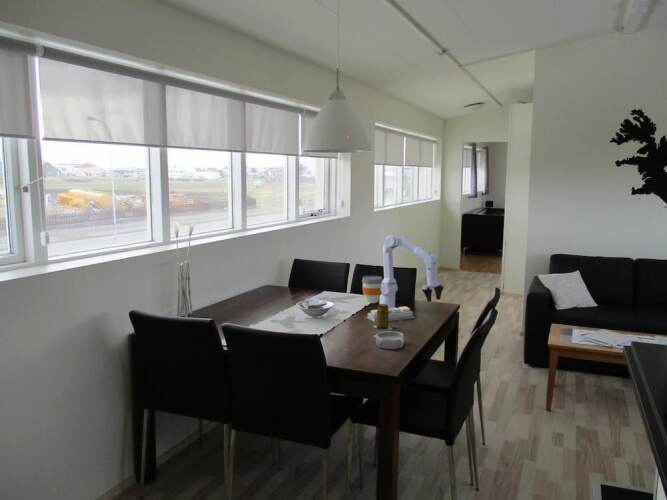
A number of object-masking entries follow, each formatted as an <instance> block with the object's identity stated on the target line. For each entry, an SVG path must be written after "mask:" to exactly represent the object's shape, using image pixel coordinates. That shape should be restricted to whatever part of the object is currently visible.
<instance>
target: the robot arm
mask: <svg viewBox="0 0 667 500" xmlns="http://www.w3.org/2000/svg"><path fill="white" fill-rule="evenodd" d="M400 246H401V247H402V246H403V247H405V248H406V249H408V250H409V251H410V252H413V254H414V257H415V256H416V258H418V259H420V260H421V261H423V263H424V265H425V268H426V270H425V271H426V283H427V284H425V285H422V292H423V294H424V296H425V298H426V302H427V303H431V302H432V293H433V290H434V293H435V299H436V300H441V296H442V293H443V290H444V285H443V281H438V267H437V265H438V264H437V263H438V262H439V257H438V255H437V254H436V253H433V252H432V253H431V251H428V250H427V249H425V246H417V245H415V244H414V243H413V242H411V241H410V240H408V239H406V237H405V236H403V235H401V234H394V235H388V236H386V237H385V239H384V243H383V246H382V261H383V262H382V263H383V278H382V285H381V294H380V298H379V302H378V305H379V304H387V305H388V309H389V310H390V308H396V293H397V292H398V288H399V287H398V284H397V280H396V279H395V278H394V262H393V261H394V258H393V256H394V255H393V251H394V250H395V249H396V248H398V247H400ZM432 288H433V289H432Z"/></svg>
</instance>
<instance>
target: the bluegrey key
mask: <svg viewBox="0 0 667 500" xmlns="http://www.w3.org/2000/svg"><path fill="white" fill-rule="evenodd" d="M390 310H391V313H393V314H394V313H400V312H401V309H399V307H395V308H390Z"/></svg>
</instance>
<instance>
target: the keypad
mask: <svg viewBox="0 0 667 500" xmlns="http://www.w3.org/2000/svg"><path fill="white" fill-rule="evenodd" d="M364 318H365V319H366V320H368V321H371V322H372V323H374V324H377V316H374V315H372V314H371V312H367V316H364ZM416 318H417V317H416V316H414V312H413V311H412V310H410V311H409V312H400V313H394V314H393V313H391V314H389V318H388V319H389V320H388V322H394V321H395V322H396V321H403V320H411V319H416Z"/></svg>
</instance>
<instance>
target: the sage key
mask: <svg viewBox="0 0 667 500" xmlns="http://www.w3.org/2000/svg"><path fill="white" fill-rule="evenodd" d="M377 310H378V309H371V310H370V313H371V314H372V315H374V316H377Z"/></svg>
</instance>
